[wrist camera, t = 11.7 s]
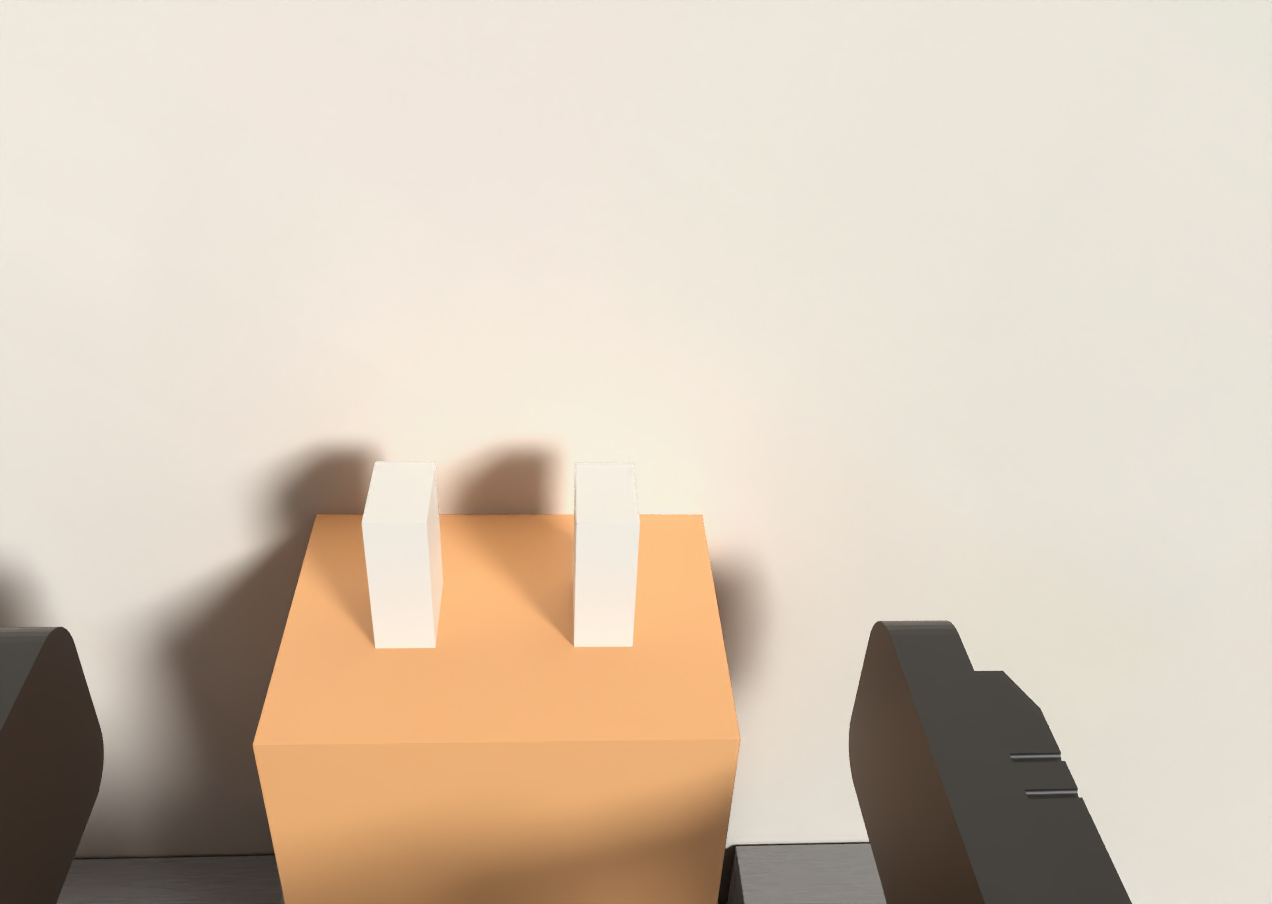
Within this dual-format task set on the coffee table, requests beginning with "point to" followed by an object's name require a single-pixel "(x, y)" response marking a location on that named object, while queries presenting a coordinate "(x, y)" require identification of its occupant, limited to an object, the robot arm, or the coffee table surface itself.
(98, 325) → the coffee table surface
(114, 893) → the bridge-shaped block
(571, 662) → the plug
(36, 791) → the robot arm
